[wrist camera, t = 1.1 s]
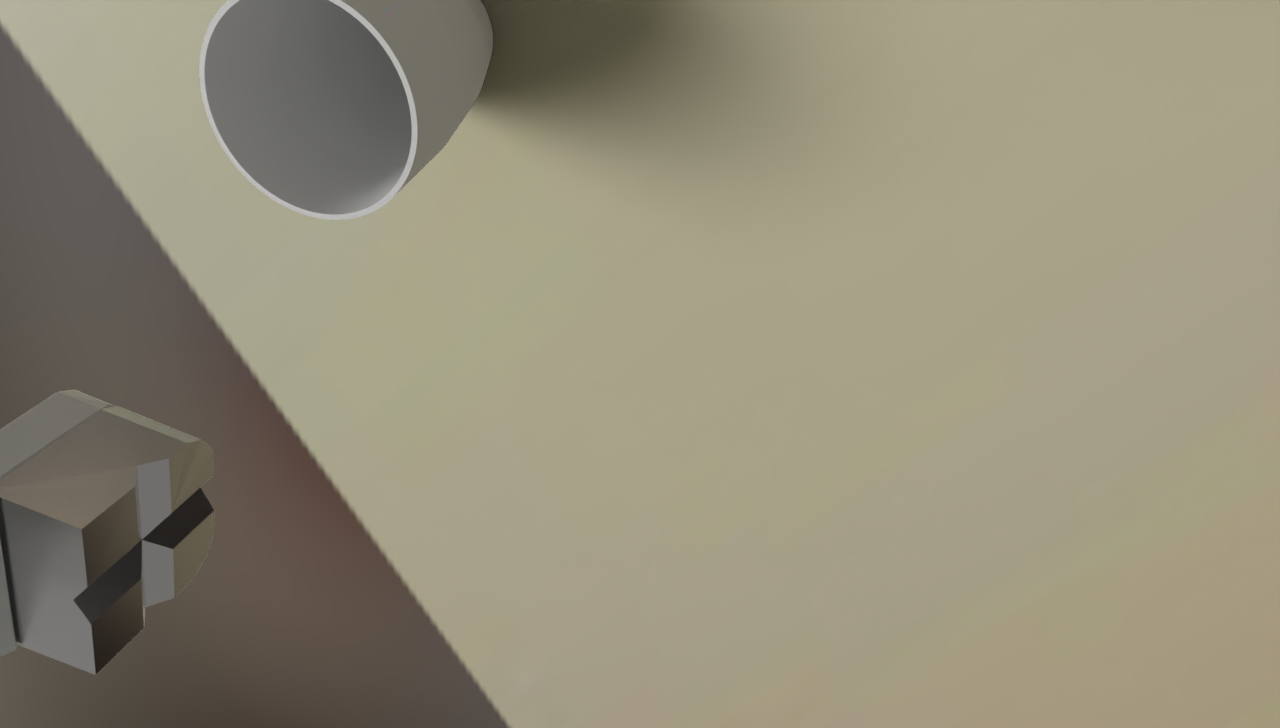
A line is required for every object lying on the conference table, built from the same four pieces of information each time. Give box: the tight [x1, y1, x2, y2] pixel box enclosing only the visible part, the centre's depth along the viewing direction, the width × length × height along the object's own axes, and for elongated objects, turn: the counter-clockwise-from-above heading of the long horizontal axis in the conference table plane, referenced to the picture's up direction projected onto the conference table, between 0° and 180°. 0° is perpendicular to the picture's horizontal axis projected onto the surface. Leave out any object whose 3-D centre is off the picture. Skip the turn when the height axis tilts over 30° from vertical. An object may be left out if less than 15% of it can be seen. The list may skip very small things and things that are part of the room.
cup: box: [199, 0, 493, 220], centre depth 42 cm, size 8×8×10 cm
